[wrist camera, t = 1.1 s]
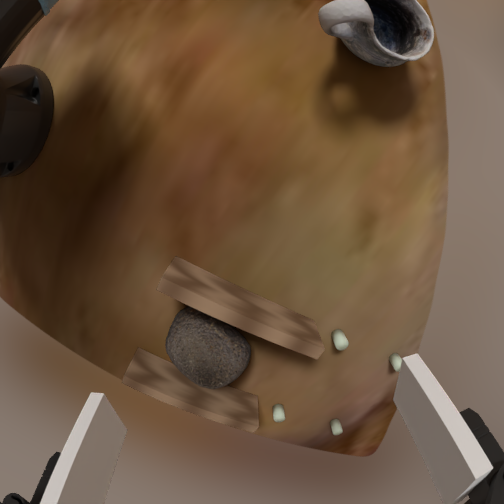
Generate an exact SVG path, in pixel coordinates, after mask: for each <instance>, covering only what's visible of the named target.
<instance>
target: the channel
mask: <svg viewBox="0 0 504 504" xmlns="http://www.w3.org/2000/svg"><path fill="white" fill-rule="evenodd" d="M156 290H157V291H159V292H161V293H163V294H165V295H167V296H170V297H172V298H174V299H176V300H178V301H180V302H182V303H184V304H186V305H188V306H190V307H193V308H195V309H197V310H199V311H201V312H203V313H206V314H208V315H210V316H212V317H214V318H217V319H219V320H221V321H223V322H226V323H228V324H230V325H232V326H235V327H237V328H239V329H242V330H244V331H246V332H249V333H251V334H254V335H256V336H258V337H261V338H263V339H266V340H268V341H271V342H273V343H276V344H278V345H281V346H283V347H286V348H288V349H291V350H293V351H296V352H299V353H301V354H304V355H306V356H309V357H312V358H315V359H318V358H319V357H320V355H321V354H322V353H323V351H324V350H325V348H324V345H323V342H322V340H321V337H320V335H319V332H318V329H317V327H316V324H315V321H314V320H312V319H310V318H307V317H305V316H303V315H301V314H298V313H296V312H294V311H292V310H289V309H287V308H285V307H283V306H280V305H278V304H276V303H274V302H272V301H269V300H267V299H265V298H263V297H261V296H259V295H256V294H254V293H252V292H250V291H248V290H246V289H243V288H241V287H239V286H237V285H235V284H233V283H231V282H229V281H226V280H224V279H222V278H220V277H218V276H216V275H214V274H212V273H210V272H208V271H206V270H203V269H201V268H199V267H197V266H195V265H193V264H191V263H189V262H187V261H185V260H183V259H181V258H179V257H177V256H175V258H174V259H173V261H172V262H171V264H170V265H169V267H168V268H167V270H166V271H165V273H164V274H163V275H162V277H161V279H160V282H159V284H158V287H157V289H156ZM122 383H123V384H125V385H127V386H129V387H131V388H133V389H136V390H138V391H140V392H142V393H144V394H146V395H149V396H151V397H153V398H155V399H158V400H160V401H163V402H165V403H168V404H170V405H172V406H175V407H177V408H180V409H182V410H185V411H188V412H190V413H193V414H196V415H198V416H201V417H204V418H207V419H210V420H213V421H216V422H219V423H222V424H225V425H228V426H232V427H235V428H238V429H242V430H245V431H249V432H252V433H254V432H255V431H256V430H257V429H258V428H259V416H258V396H256V395H253V394H250V393H247V392H244V391H241V390H239V389H236V388H233V387H230V386H227V385H226V386H224V387H221V388H217V389H209V388H204V387H200V386H199V385H197V384H195V383H194V382H192V381H191V380H189V379H188V378H187V377H186V376H185V375H183V374H182V373H181V372H180V371H179V370H178V369H177V367H176V366H175V365H174V364H173V363H171V362H169V361H166V360H164V359H162V358H160V357H158V356H155V355H153V354H151V353H149V352H147V351H145V350H143V349H141V348H139V347H138V349H137V351H136V353H135V355H134V357H133V359H132V361H131V363H130V365H129V367H128V369H127V371H126V373H125V375H124V377H123V380H122Z"/></svg>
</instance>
